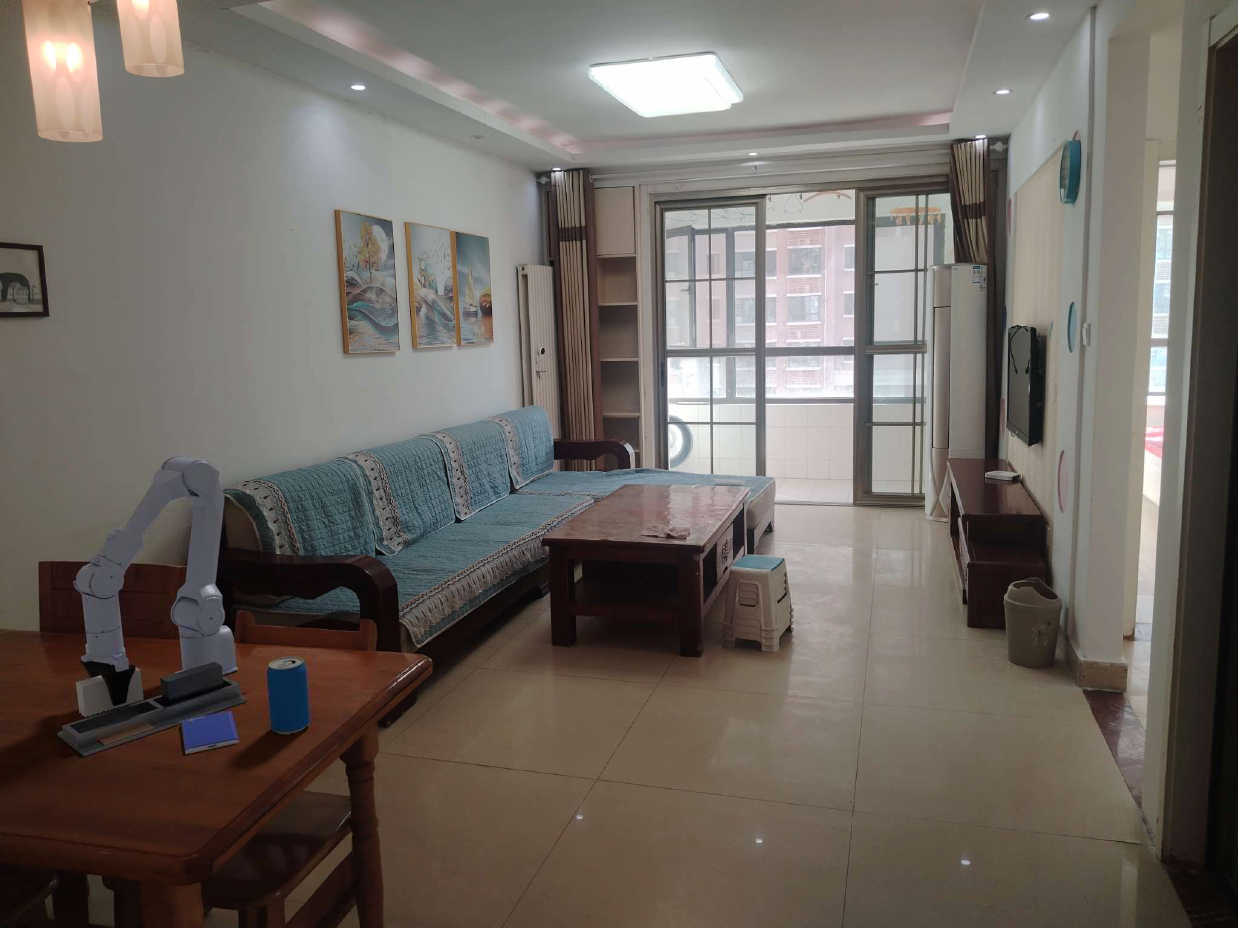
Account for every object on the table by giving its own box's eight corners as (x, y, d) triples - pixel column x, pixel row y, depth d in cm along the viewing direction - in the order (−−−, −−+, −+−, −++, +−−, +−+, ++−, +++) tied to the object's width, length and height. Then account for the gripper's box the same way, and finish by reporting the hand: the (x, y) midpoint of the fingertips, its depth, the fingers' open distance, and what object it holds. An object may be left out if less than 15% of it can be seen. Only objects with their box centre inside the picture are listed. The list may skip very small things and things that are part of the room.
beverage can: (318, 722, 160) (313, 657, 158) (294, 738, 154) (289, 671, 152) (288, 718, 162) (283, 653, 160) (262, 733, 156) (257, 666, 154)
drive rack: (217, 685, 177) (214, 653, 176) (247, 701, 169) (245, 667, 168) (57, 735, 156) (53, 699, 155) (84, 756, 148) (80, 718, 147)
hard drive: (181, 719, 159) (185, 748, 149) (231, 710, 163) (238, 737, 152) (181, 728, 160) (185, 757, 149) (232, 718, 164) (239, 745, 153)
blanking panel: (136, 695, 173) (133, 666, 172) (143, 699, 171) (140, 669, 170) (79, 713, 166) (75, 682, 165) (85, 717, 164) (82, 686, 163)
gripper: (64, 625, 168) (72, 695, 170) (95, 642, 158) (103, 716, 160) (105, 616, 173) (113, 683, 175) (137, 631, 164) (145, 703, 166)
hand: (111, 698), depth 168 cm, fingers open, 7 cm apart
